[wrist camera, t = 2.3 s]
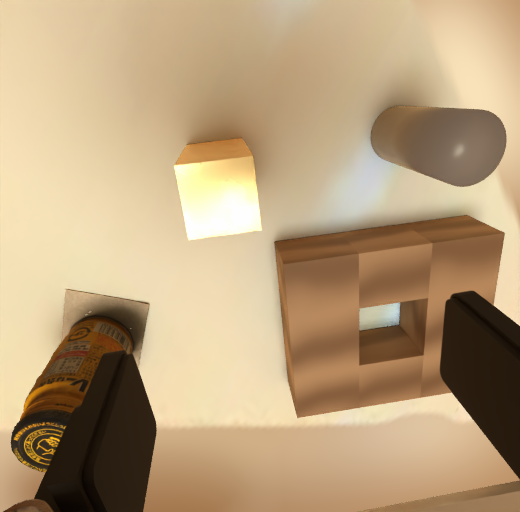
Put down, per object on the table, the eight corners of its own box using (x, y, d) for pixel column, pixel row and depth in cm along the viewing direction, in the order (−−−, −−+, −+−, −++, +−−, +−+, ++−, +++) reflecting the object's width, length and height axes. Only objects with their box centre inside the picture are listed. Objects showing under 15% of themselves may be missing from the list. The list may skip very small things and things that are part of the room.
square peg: (186, 144, 30) (174, 165, 21) (241, 137, 30) (253, 155, 21) (196, 198, 32) (188, 239, 23) (248, 191, 32) (261, 230, 23)
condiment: (59, 364, 37) (-7, 479, 26) (66, 288, 34) (-6, 381, 23) (137, 375, 38) (105, 487, 27) (149, 302, 35) (119, 396, 24)
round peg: (371, 109, 31) (437, 114, 21) (423, 102, 31) (511, 105, 22) (370, 164, 32) (431, 191, 23) (420, 157, 33) (500, 181, 23)
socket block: (274, 241, 34) (283, 264, 29) (466, 215, 35) (504, 232, 30) (288, 381, 40) (297, 417, 36) (450, 355, 41) (480, 387, 37)
